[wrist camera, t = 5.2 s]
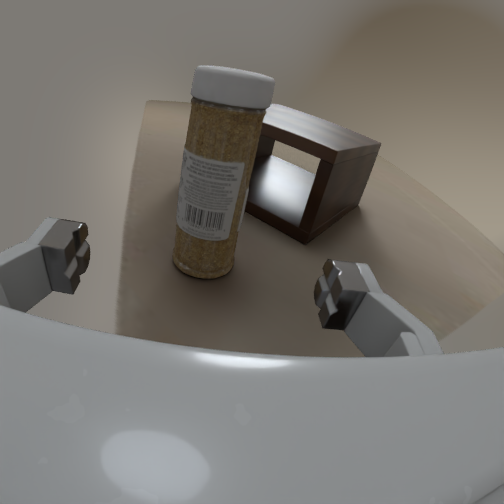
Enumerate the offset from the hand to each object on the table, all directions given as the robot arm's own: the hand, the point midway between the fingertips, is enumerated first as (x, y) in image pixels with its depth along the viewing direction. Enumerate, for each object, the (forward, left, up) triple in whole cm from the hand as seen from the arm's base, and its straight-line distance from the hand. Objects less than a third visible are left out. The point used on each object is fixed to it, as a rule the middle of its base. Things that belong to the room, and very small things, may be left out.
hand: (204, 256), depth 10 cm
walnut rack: (+25, +10, -8) cm, 28 cm away
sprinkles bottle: (+8, +6, -8) cm, 13 cm away
